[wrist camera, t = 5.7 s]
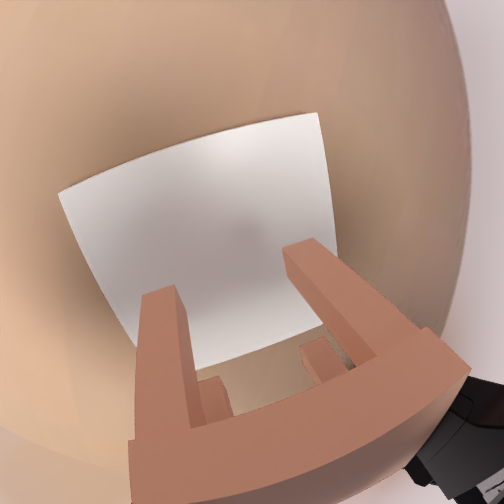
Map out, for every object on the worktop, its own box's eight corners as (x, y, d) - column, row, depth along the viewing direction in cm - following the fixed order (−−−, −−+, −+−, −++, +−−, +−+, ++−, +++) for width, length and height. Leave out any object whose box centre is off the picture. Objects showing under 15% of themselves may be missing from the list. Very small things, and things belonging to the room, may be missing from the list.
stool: (314, 234, 10) (471, 369, 4) (326, 353, 13) (405, 466, 7) (138, 293, 9) (132, 507, 3) (201, 398, 12) (236, 534, 6)
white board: (331, 305, 21) (341, 315, 20) (158, 365, 19) (159, 380, 18) (305, 113, 15) (317, 112, 13) (67, 187, 13) (57, 193, 11)
